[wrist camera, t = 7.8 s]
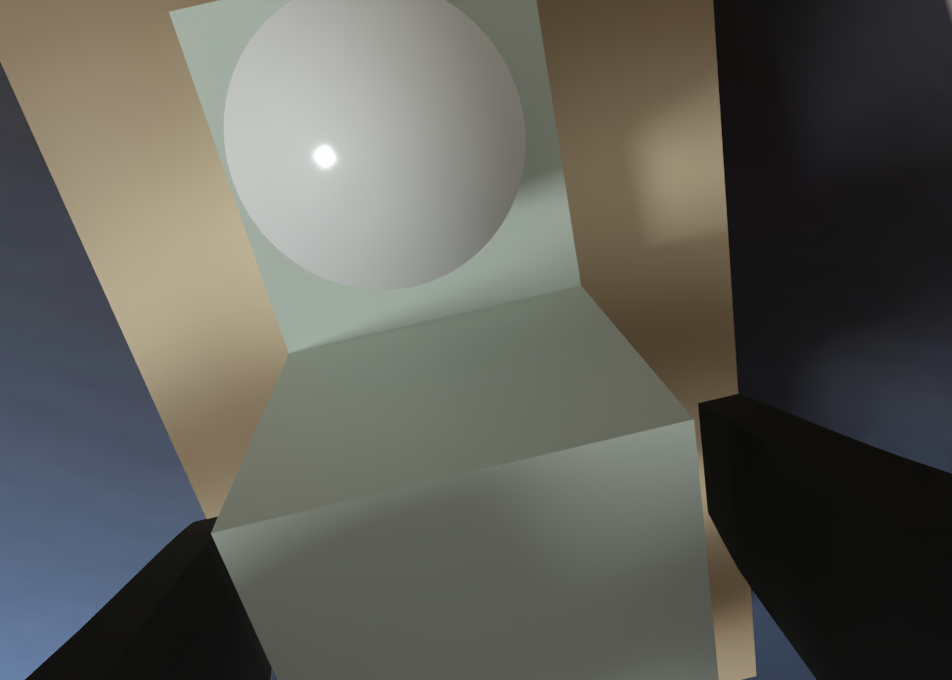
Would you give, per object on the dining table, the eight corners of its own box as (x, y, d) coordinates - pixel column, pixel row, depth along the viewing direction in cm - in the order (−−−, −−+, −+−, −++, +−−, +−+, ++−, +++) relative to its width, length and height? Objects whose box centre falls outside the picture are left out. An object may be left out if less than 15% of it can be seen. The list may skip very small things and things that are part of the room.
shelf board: (713, 602, 19) (756, 676, 16) (334, 692, 19) (324, 780, 16) (643, -148, 12) (700, -203, 10) (44, -13, 12) (-43, -35, 9)
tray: (627, 658, 16) (746, 973, 10) (431, 705, 16) (444, 1048, 10) (509, -49, 10) (633, -207, 5) (201, 21, 10) (-55, -53, 4)
